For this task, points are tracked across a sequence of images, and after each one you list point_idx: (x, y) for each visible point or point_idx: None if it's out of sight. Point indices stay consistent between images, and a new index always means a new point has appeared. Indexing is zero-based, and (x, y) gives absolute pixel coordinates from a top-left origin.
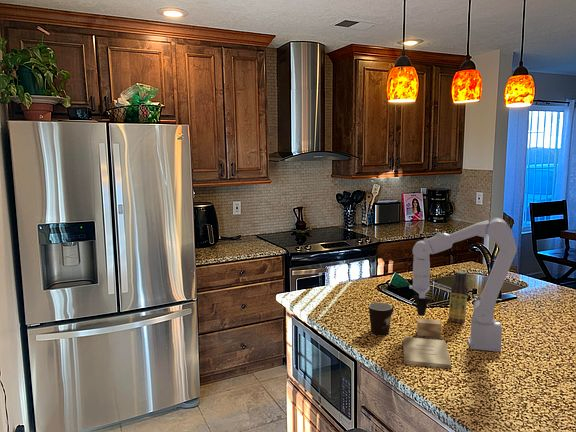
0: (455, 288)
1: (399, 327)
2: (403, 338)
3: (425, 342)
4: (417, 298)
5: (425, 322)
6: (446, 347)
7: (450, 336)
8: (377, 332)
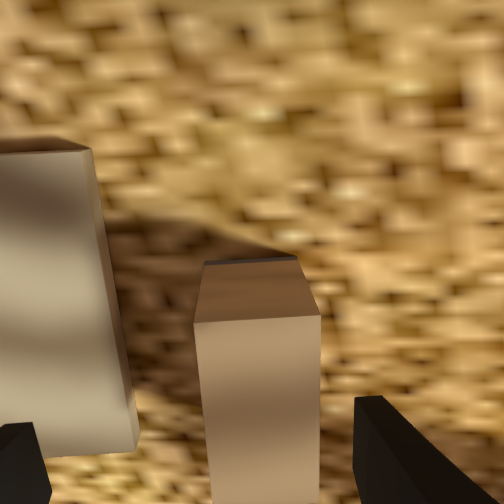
0: None
1: (377, 100)
2: (39, 155)
3: (34, 334)
4: None
5: (219, 392)
6: None
7: None
8: None
